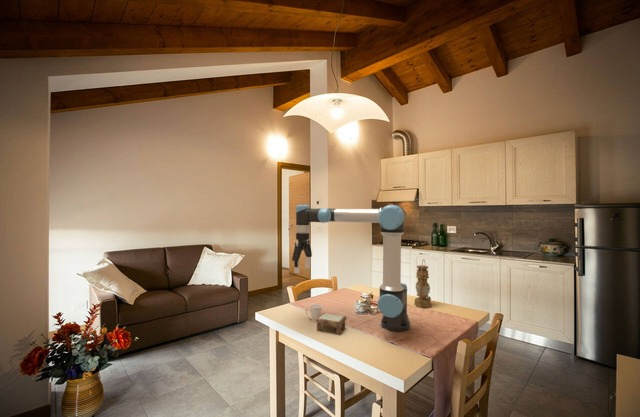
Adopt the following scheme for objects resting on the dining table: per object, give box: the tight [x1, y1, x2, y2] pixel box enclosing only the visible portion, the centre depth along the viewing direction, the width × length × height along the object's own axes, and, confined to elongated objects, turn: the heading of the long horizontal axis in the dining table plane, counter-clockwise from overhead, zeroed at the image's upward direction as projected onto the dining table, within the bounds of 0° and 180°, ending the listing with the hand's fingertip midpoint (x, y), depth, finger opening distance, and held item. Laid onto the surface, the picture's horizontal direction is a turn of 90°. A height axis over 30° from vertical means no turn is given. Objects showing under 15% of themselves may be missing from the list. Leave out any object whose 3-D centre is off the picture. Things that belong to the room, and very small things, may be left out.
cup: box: [305, 303, 323, 322], centre depth 170 cm, size 7×10×8 cm
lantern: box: [414, 259, 432, 308], centre depth 196 cm, size 15×10×30 cm
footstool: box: [315, 312, 347, 335], centre depth 157 cm, size 13×10×6 cm
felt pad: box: [319, 312, 345, 322], centre depth 157 cm, size 11×8×1 cm
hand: (302, 270), depth 168 cm, fingers open, 13 cm apart
